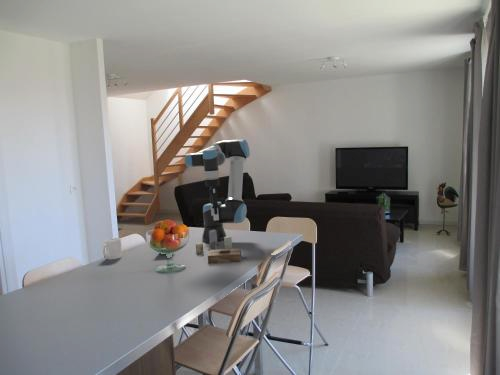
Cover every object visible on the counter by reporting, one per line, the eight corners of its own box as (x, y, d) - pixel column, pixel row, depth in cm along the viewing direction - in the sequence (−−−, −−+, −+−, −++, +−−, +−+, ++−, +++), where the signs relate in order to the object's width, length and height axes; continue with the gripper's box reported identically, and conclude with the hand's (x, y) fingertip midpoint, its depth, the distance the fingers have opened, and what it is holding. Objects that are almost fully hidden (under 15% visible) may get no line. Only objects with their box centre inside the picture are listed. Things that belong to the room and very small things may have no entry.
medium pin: (225, 250, 227) (224, 236, 226) (232, 250, 227) (231, 236, 226) (224, 252, 223) (223, 238, 223) (231, 252, 223) (231, 237, 222)
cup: (125, 256, 229) (123, 238, 228) (110, 262, 218) (108, 243, 217) (114, 255, 232) (112, 237, 231) (98, 261, 221) (96, 242, 220)
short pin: (196, 252, 228) (196, 243, 228) (204, 251, 228) (203, 242, 228) (195, 254, 224) (194, 245, 224) (202, 253, 224) (202, 244, 224)
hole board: (211, 257, 216) (211, 249, 215) (241, 255, 215) (241, 248, 214) (208, 263, 204) (207, 255, 203) (240, 262, 203) (239, 254, 203)
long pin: (211, 251, 228) (209, 230, 227) (218, 251, 228) (216, 229, 226) (210, 253, 224) (208, 231, 223) (217, 252, 224) (215, 231, 222)
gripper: (203, 177, 229) (206, 214, 231) (206, 181, 204) (209, 223, 207) (216, 175, 230) (219, 213, 233) (221, 180, 206) (224, 221, 208)
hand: (215, 217), depth 220 cm, fingers open, 13 cm apart
